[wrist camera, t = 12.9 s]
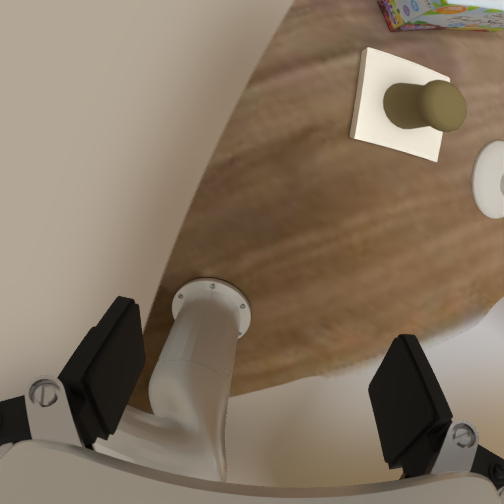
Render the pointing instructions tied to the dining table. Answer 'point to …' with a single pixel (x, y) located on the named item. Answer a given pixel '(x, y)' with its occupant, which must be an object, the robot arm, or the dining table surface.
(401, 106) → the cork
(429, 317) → the dining table surface
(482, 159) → the candlestick
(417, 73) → the tile base
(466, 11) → the snack box
